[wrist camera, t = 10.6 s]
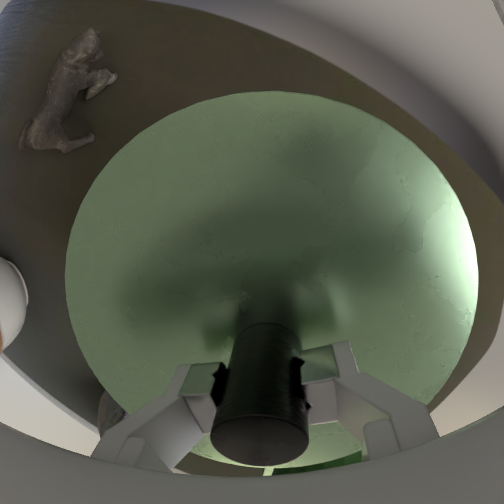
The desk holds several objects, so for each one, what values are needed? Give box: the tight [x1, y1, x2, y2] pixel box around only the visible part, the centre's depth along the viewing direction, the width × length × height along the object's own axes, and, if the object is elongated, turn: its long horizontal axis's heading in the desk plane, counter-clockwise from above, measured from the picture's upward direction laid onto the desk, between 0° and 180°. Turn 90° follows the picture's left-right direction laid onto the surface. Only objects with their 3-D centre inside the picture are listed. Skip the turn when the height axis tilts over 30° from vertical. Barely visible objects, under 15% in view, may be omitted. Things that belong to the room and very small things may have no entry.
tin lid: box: [65, 91, 478, 468], centre depth 8 cm, size 17×17×5 cm
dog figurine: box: [18, 28, 117, 154], centre depth 17 cm, size 12×6×7 cm, turn 151°
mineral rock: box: [97, 390, 130, 438], centre depth 28 cm, size 13×11×10 cm
